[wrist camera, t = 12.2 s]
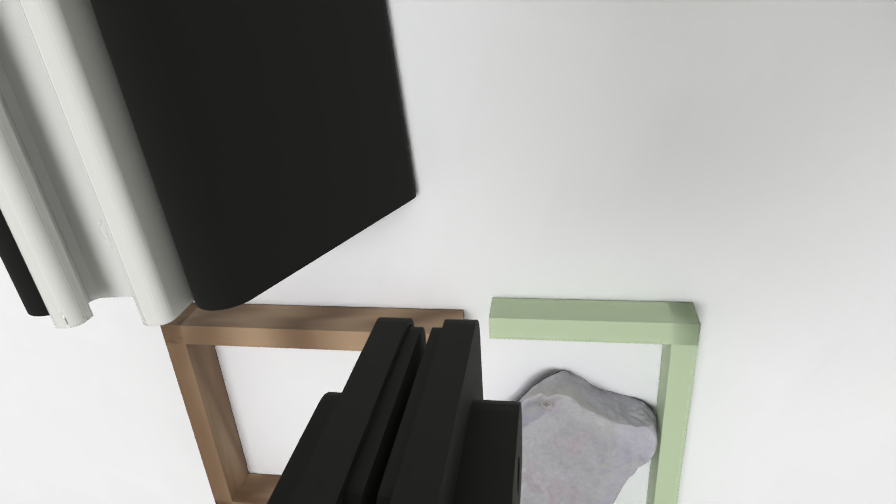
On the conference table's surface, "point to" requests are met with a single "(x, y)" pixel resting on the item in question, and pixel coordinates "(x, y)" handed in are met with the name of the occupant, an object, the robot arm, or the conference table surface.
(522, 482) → the stone block
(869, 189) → the conference table surface
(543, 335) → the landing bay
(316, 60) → the device stand
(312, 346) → the brown wooden u frame
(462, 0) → the conference table surface
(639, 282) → the conference table surface
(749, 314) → the conference table surface
